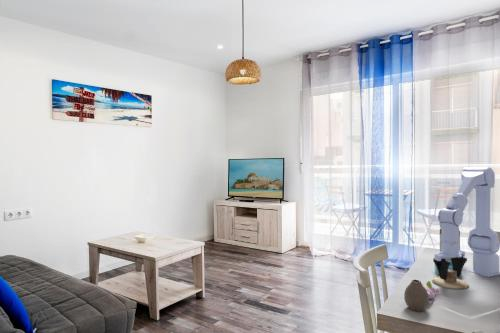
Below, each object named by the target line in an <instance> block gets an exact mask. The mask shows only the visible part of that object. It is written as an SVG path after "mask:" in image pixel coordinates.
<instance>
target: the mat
mask: <svg viewBox="0 0 500 333" xmlns="http://www.w3.org/2000/svg"><path fill="white" fill-rule="evenodd" d="M431 282H432V283H431V284H434V285H435V286H438V287H440V288H444V289H449V290H453V289H452V288H446V287H442V286H439V285H437V284H435V283H434V282H433V279H432V280H431ZM469 288H470V285H469V284H468V287H467V288H465V289H455V290H459V291H460V290H461V291H462V290H468V289H469Z"/></svg>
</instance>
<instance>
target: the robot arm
mask: <svg viewBox="0 0 500 333" xmlns="http://www.w3.org/2000/svg"><path fill="white" fill-rule="evenodd" d="M495 175H496V174H495V171H494V170H493V169H492V167H489V166H487V167H468V166H466V167H464V168H463V169H462V170H461V183H460V185H459V187H458V190H457V193H454V194H452V195H451V197H450V199H449V200H448V202H447V204H446V205H445V207H444V208H442V209H440V210H439V211H438V214H437V219H438V220H437V221H438V223H439V229H441V252H440V251H439V252H438V253H436V254H434V258H433V263H434V266H435V265H436V267H437V269H438V272H439V275H438V277H440V278H441V279H444V280H446V279H447V272H448V268H449V265H450V262H447V261H446V260H445V259H449V258H450V259H451V262H452V266H453V270H454V271H457V278H461V277H460V275H461V272H462V271H463V268H464V265H465V264H466V263H467V261H468V257H466V251H464V250H461V249H460V250H459V231H460V225H461V224H462V223H463V220H464V219H463V217H464V214H465V213H464V211H465V209H466V207H467V206H468V204H469V199H468V197H469V195H470V194H471V193H472V191H473V189H474V190H475V227H474V228H472V229H471V230H469V232H468V238H467V245H468V248H469V249H471V252H472V269H469V270H467V272H469V273H474V274H477V275H480V276H484V277H487V278H489V277H490V278H491V277H494V276H499V275H500V257H499V255H498V254H497V253H498V252H499V250H500V238H499V234H498V233H497V232H496V231H495V230H493V229H492V228H491V189H493V188H495V183H496V182H495V181H496V180H495V178H496V177H495ZM462 273H463V272H462Z"/></svg>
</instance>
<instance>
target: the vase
mask: <svg viewBox="0 0 500 333" xmlns="http://www.w3.org/2000/svg"><path fill="white" fill-rule="evenodd" d="M424 287H425V286H424V285H423V284H422V282H421V280H420V279H412V280H411V282H410V283H409V284H408V285H407V287H405V290H404V294H403V296H404V298H403V299H404V302H405V305H406V307H408V308H409V309H410V310H411V311H414V312H423V311H424V310H426V309H427V307H428V306H429V302H430V299H429V296H428V293H427V291H426V289H425V288H424Z"/></svg>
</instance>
